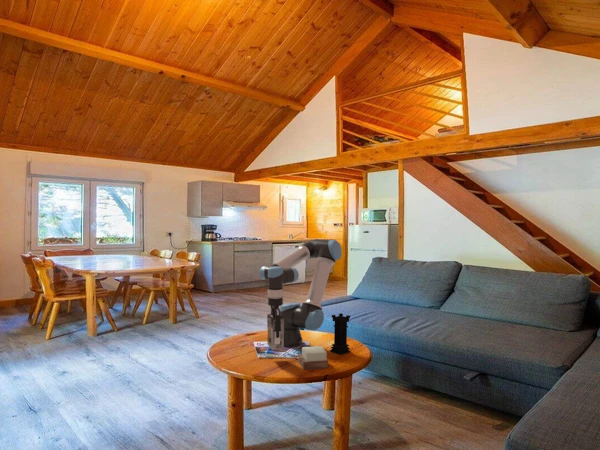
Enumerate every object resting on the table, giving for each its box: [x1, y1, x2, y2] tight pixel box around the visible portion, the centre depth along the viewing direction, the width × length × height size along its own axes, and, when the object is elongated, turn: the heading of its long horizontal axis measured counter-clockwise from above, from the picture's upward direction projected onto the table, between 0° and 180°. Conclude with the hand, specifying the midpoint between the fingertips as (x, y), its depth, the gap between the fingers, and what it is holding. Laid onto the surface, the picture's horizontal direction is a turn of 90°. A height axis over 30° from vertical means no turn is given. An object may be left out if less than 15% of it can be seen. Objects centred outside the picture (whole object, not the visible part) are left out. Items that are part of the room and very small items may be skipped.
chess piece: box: [329, 312, 352, 356], centre depth 224 cm, size 8×8×20 cm
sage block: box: [301, 345, 328, 362], centre depth 203 cm, size 10×10×4 cm
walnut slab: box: [297, 353, 329, 371], centre depth 203 cm, size 12×12×4 cm
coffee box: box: [266, 313, 285, 351], centre depth 209 cm, size 9×6×16 cm
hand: (275, 340), depth 209 cm, fingers closed on coffee box, 9 cm apart
